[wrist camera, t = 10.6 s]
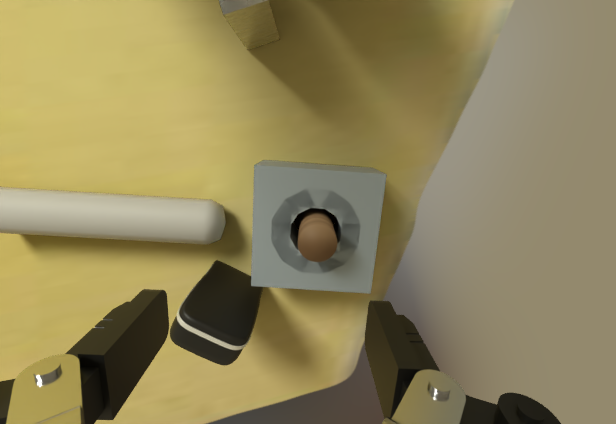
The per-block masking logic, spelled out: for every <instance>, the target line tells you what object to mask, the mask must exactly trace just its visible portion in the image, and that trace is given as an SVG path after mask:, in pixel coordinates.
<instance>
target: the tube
mask: <svg viewBox="0 0 616 424" xmlns="http://www.w3.org/2000/svg"><path fill="white" fill-rule="evenodd" d="M225 224H226V221H225V214H224V208H223V206H222V205H220V204H219V203H217V202H215V201H213V200H208V199H191V198H175V197H158V196H142V195H125V194H109V193H92V192H75V191H59V190H42V189H26V188H9V187H1V186H0V233H11V234H29V235H47V236H65V237H82V238H100V239H118V240H136V241H154V242H172V243H190V244H210V243H213V242H215V241H218V240H221V236H222V233H223V230H224V227H225Z"/></svg>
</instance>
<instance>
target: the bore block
mask: <svg viewBox="0 0 616 424" xmlns="http://www.w3.org/2000/svg"><path fill="white" fill-rule="evenodd" d="M386 176H387V174H385V173H383V172H381V171H379V170H376V169H374V168H369V167H355V166H341V165H327V164H313V163H300V162H286V161H272V160H263V161H261V162H259V163H257V164H255V165H254V199H253V235H252V271H251V286H260V287H275V288H291V289H307V290H322V291H338V292H354V293H369V294H371V287H372V280H373V272H374V265H375V257H376V250H377V243H378V235H379V228H380V220H381V213H382V206H383V198H384V191H385V183H386ZM310 208H320V209H326V210H327V211H329V212H330V213H332V214H333V215H335V224H334V225H333V227H334V231H335V234H336V238H337V249H336V251H335V253H334V254H333V256H332V257H330V258H329V259H327V260H325V261H322V262H312V261H309V260H307V259H306V258H304V257H303V256H302V254H301V253H300V251H299V249H298V234H299V230H298V229H297V227H296V225H295V223H294V219H295V218H296V217H297V215H298V214H299V213H301V212H303V211H305V210H307V209H310Z"/></svg>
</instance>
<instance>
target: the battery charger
mask: <svg viewBox="0 0 616 424" xmlns="http://www.w3.org/2000/svg"><path fill="white" fill-rule="evenodd" d="M263 288H264V287H260V286H251V276H249V275H247V274H245V273H243V272H241V271H239V270H237V269H235V268H233V267H231V266H229V265H227V264H225V263H222V262H220V261H218V260H216V261H215V262H214V263H213V264H212V266H211V267H210V269H209V270H208V271H207V273H206V274H205V275H204V276H203V278H202V279H201V280H200V281H199V282H198V283H197V284H196V285H195V286H194V288H193V289H192V290H191V291H190V293H189V294H188V295H187V297H186V298H185V300H184V301H183V303H182V304H181V306H180V308H179V310H178V312H177V316H176V318H175V319H174V321H173V324H172V326H171V329H170V337H171V339H172V341H173V342H174V343H175V344H176V345H178V346H180V347H181V348H184V349H186V350H188V351H190V352H192V353H194V354H196V355H198V356H200V357H203V358H205V359H207V360H210V361H212V362H214V363H217V364H220V365H229V364H231V363H233V362H234V361H235V360H236V359H237V358H238V356H239V355H240V353H241V351H242V350H243V348H244V347H245V346H246V345H247V343H248V341H249V340H250V337H251V334H252V331H253V328H254V325H255V321H256V317H257V313H258V308H259V303H260V298H261V294H262V291H263Z"/></svg>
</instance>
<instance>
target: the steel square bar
mask: <svg viewBox="0 0 616 424" xmlns="http://www.w3.org/2000/svg"><path fill="white" fill-rule="evenodd" d="M219 3H220V6H221V9H222V12H223V15H224V17H225V18H226V19H227V21H228V22H229V24H230V25H231V27H232V28H233V30H234V31H235V32H236V34H237V35H238V37H239V38H240V40H241V41H242V43H243V44H244V45H245V47H246V48H247V50H249V49H252V48H255V47H258V46H261V45H265V44H268V43H271V42H274V41H277V40H280V38H279V35H278V31H277V27H276V24H275V20H274V17H273V13H272V9H271V6H270V2H269V0H219Z"/></svg>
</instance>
